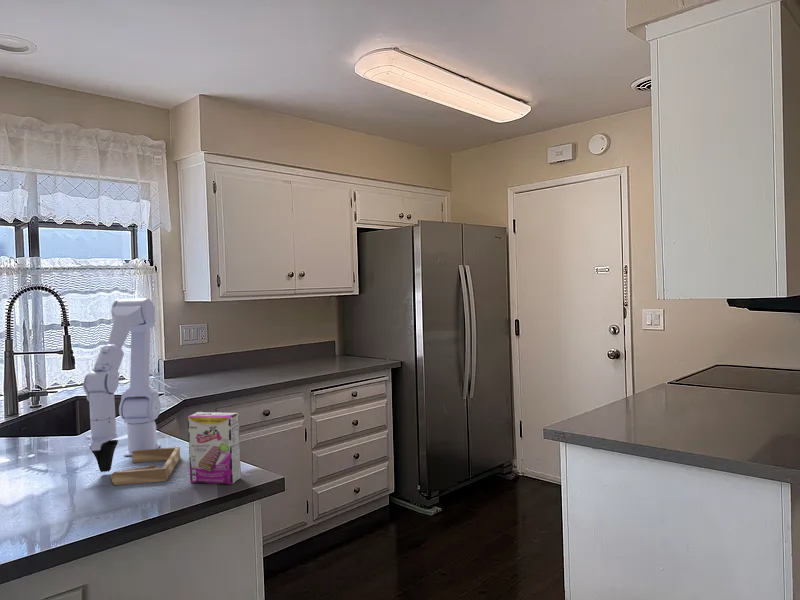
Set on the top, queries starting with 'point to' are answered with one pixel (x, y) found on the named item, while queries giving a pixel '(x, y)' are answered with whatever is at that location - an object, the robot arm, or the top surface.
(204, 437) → the candy bar box
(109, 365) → the robot arm
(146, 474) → the frame
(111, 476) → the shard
